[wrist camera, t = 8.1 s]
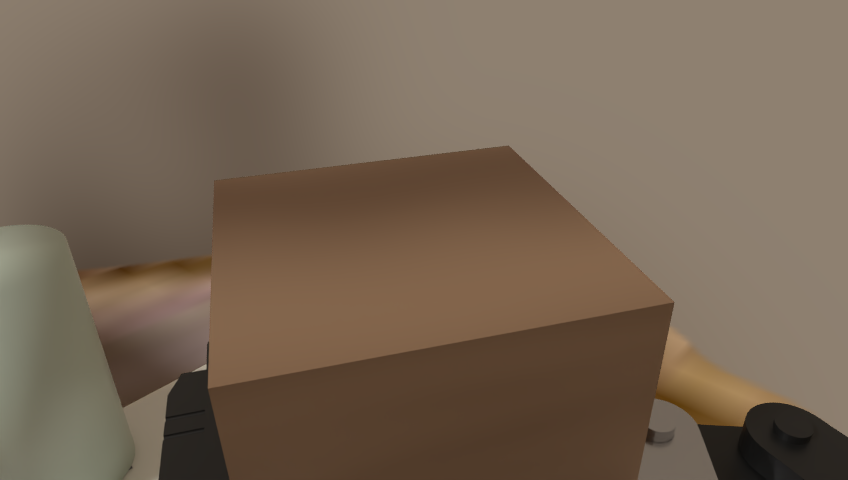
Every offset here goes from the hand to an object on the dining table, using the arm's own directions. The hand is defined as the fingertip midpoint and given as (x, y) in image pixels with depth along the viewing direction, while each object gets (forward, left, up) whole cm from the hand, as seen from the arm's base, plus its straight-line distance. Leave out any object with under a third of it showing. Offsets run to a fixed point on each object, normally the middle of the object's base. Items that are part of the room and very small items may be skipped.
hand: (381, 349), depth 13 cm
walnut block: (-1, -2, -6) cm, 6 cm away
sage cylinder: (-4, +16, -13) cm, 21 cm away
